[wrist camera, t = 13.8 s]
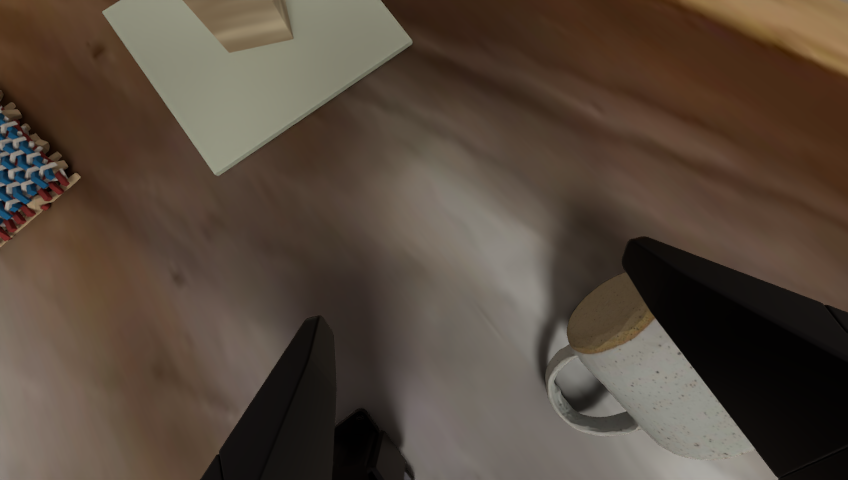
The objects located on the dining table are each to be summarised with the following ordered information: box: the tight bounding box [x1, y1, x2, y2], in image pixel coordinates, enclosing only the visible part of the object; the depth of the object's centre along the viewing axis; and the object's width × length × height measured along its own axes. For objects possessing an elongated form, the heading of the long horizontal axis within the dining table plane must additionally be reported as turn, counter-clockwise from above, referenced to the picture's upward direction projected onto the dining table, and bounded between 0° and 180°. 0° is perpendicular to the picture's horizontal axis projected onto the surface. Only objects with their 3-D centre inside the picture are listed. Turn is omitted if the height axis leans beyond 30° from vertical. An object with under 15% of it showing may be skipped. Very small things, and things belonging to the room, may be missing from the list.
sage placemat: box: [102, 0, 412, 176], centre depth 24 cm, size 18×16×1 cm
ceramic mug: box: [545, 272, 755, 460], centre depth 18 cm, size 11×8×8 cm
